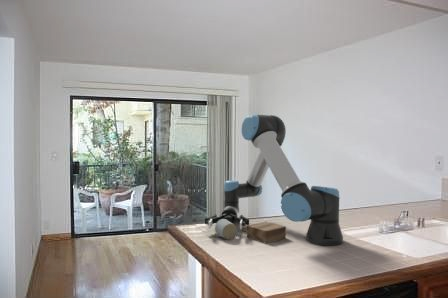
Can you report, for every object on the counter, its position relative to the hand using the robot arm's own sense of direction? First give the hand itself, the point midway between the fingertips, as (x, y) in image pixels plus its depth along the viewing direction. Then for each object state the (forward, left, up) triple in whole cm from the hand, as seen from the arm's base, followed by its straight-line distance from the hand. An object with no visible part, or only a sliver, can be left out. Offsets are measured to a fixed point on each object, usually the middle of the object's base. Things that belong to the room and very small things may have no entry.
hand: (224, 225), depth 156 cm
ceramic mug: (+2, -3, -6) cm, 7 cm away
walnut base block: (-9, -16, -6) cm, 19 cm away
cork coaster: (+6, -20, -6) cm, 22 cm away
